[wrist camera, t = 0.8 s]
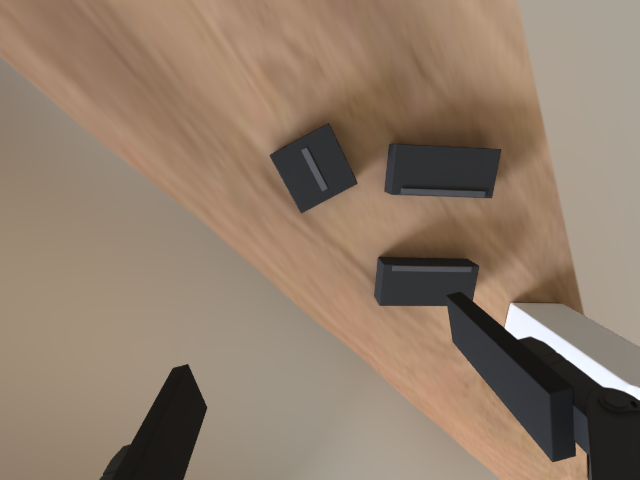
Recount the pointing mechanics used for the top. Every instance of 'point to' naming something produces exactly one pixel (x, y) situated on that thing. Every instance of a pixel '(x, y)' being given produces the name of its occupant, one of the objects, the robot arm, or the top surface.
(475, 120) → the top surface
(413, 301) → the pad row
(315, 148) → the loose pad
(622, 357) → the milk carton
